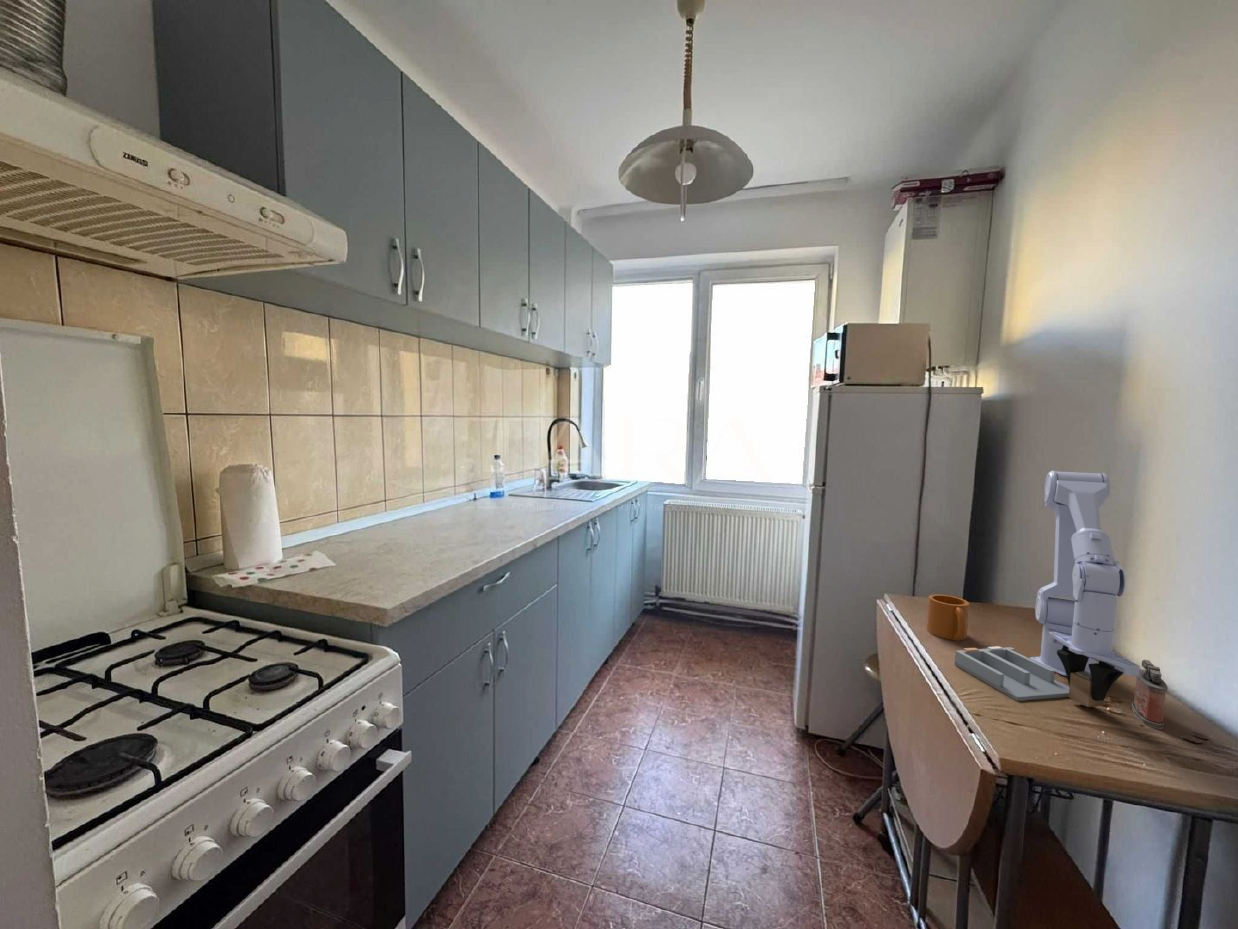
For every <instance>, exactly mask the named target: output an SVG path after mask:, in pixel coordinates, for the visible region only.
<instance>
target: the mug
mask: <svg viewBox="0 0 1238 929" xmlns="http://www.w3.org/2000/svg"><path fill="white" fill-rule="evenodd" d="M927 602H928V603H927V615H926V616H927V617H926V618H927V619H926V631H927V632H928V633H930V634H931V635H933V636H936V637H938V638H942V639H945V638H946V640H951V641H952V640H953V641H956V642H961V641H963V640H962V639H964V640H966V639H967V638H968V628H969V626H968V625H969V612H970V603H969V601H967V600H966V599H963V598H961V597H958V596H953V595H946V594H931V595H928V601H927ZM965 638H966V639H965Z"/></svg>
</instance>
